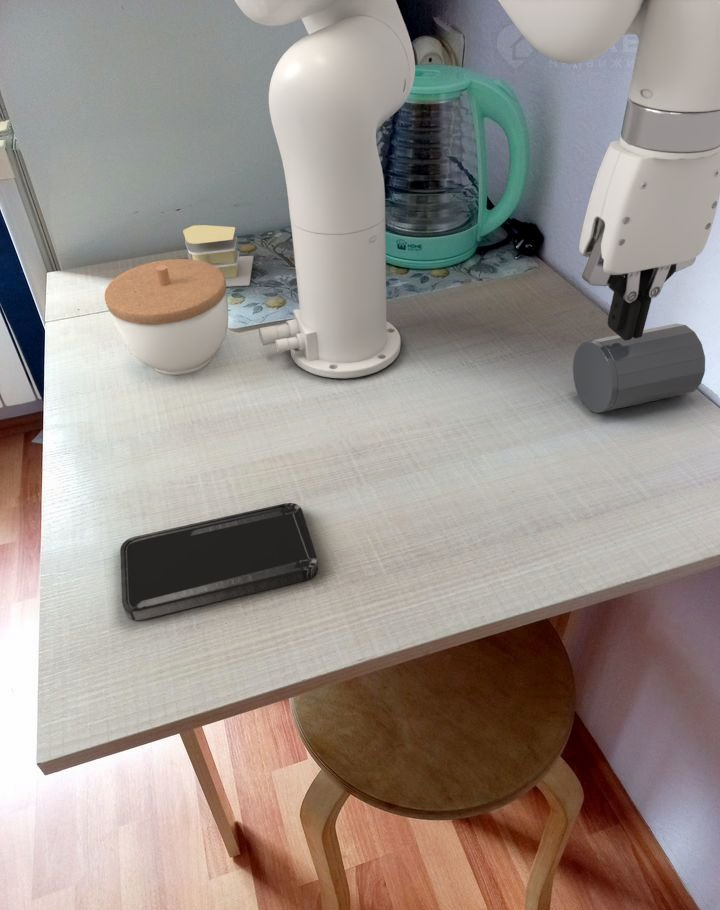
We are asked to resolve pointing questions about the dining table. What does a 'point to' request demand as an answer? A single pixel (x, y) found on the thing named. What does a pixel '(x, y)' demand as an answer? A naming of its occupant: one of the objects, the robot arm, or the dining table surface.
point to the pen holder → (638, 368)
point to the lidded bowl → (170, 313)
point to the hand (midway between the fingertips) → (623, 331)
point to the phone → (215, 560)
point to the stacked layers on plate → (219, 252)
